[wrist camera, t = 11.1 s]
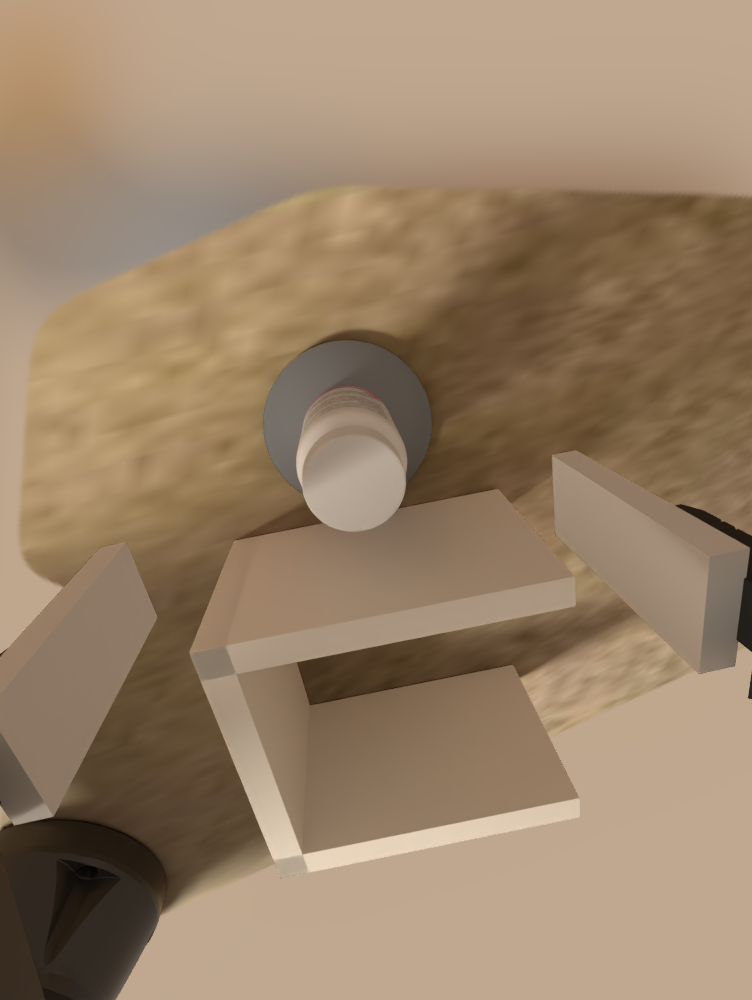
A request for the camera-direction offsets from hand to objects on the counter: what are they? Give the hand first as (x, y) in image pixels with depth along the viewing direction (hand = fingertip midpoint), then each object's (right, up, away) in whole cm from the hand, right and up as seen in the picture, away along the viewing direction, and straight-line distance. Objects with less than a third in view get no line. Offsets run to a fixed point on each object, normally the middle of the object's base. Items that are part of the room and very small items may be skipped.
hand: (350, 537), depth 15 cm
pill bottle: (-1, +5, +11) cm, 13 cm away
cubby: (+2, -6, +17) cm, 18 cm away
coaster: (-1, +5, +12) cm, 13 cm away
